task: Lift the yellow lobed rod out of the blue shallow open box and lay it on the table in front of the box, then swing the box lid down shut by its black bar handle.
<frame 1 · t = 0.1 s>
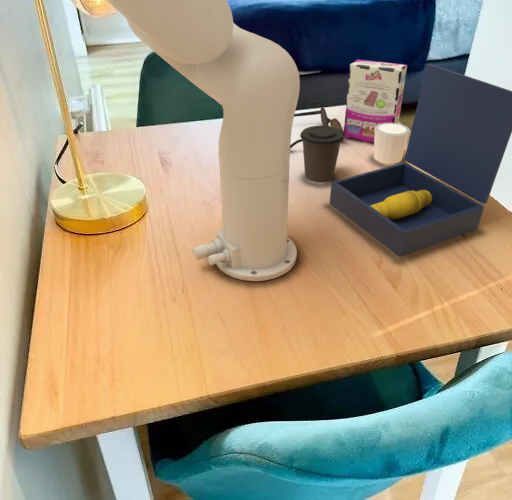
white short cylinder: (387, 161, 105), on the table
yellow lobed rod: (400, 215, 86), point 1 cm above the table, touching blue shallow open box
coffee cup: (318, 179, 99), on the table
blue shallow open box: (399, 218, 86), on the table
candy bar box: (369, 139, 115), on the table
lid: (464, 130, 82), point 14 cm above the table, hinge at 95.0°
eyeglasses: (301, 138, 115), on the table
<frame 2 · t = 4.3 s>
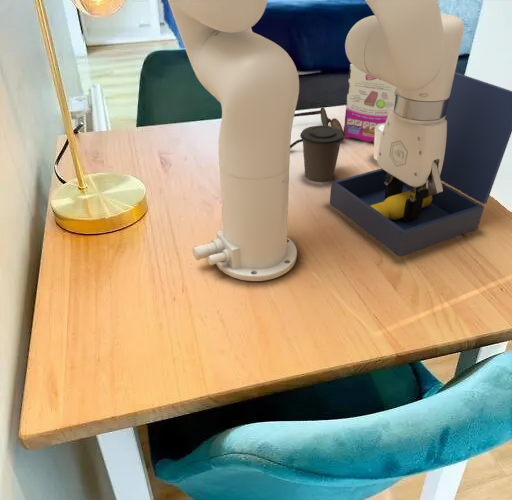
hand: (401, 211, 85), 2 cm above the table, tool pointing down, fingers closed on yellow lobed rod, 4 cm apart
yellow lobed rod: (400, 215, 86), point 1 cm above the table, touching gripper, blue shallow open box
everything else where it was.
when the fingers open (1 cm above the table, at t = 11.1 s): yellow lobed rod stays where it is, on the table.
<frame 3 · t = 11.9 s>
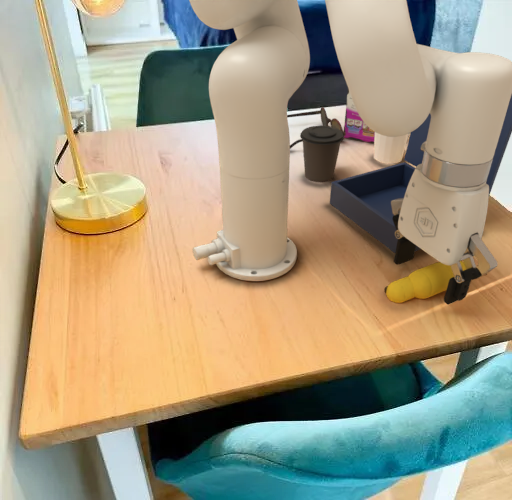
hand: (427, 279, 69), 2 cm above the table, tool pointing down, fingers open, 9 cm apart
yellow lobed rod: (428, 291, 70), on the table
everything else where it was.
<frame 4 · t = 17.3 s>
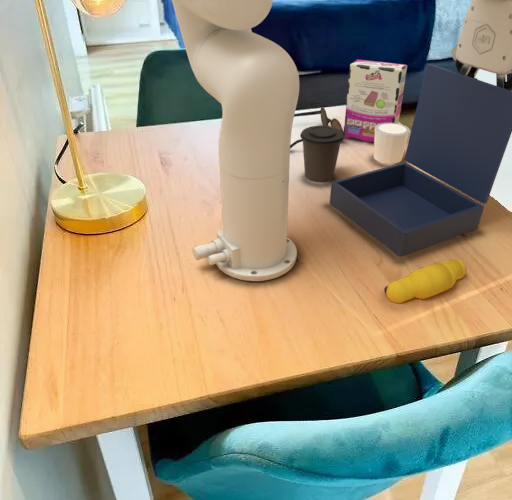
hand: (479, 108, 81), 17 cm above the table, tool pointing down, fingers closed on lid, 5 cm apart
lid: (464, 130, 82), point 14 cm above the table, hinge at 95.0°, touching gripper
everything else where it was.
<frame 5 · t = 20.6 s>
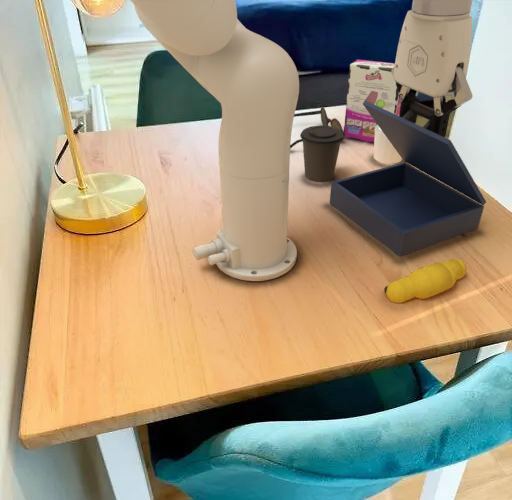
hand: (421, 130, 78), 16 cm above the table, tool pointing down, fingers closed on lid, 5 cm apart
lid: (432, 142, 80), point 13 cm above the table, hinge at 48.1°, touching gripper
everything else where it was.
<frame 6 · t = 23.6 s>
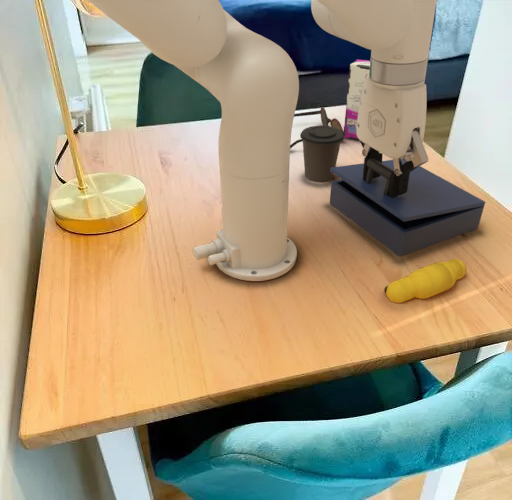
hand: (384, 185, 80), 8 cm above the table, tool pointing down, fingers closed on lid, 5 cm apart
lid: (408, 174, 81), point 8 cm above the table, hinge at 7.0°, touching gripper
everything else where it was.
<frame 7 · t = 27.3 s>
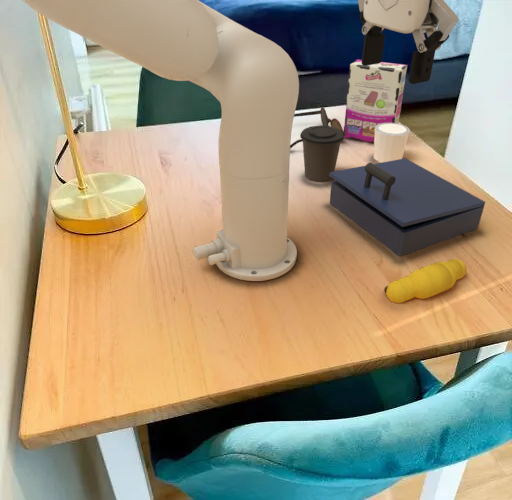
hand: (393, 72, 69), 25 cm above the table, tool pointing down, fingers open, 9 cm apart
lid: (406, 177, 82), point 8 cm above the table, hinge at 4.0°
everything else where it was.
at the end: yellow lobed rod inside the target area (0.4 cm from its centre), on the table; yellow lobed rod touching table; lid at +4° (first picture: +95°) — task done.
